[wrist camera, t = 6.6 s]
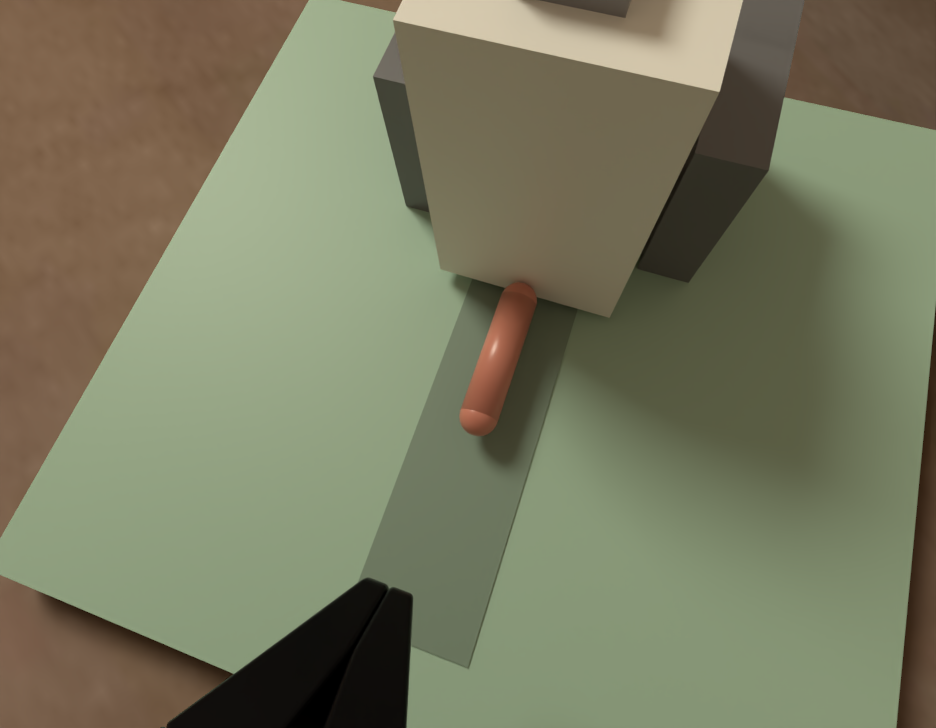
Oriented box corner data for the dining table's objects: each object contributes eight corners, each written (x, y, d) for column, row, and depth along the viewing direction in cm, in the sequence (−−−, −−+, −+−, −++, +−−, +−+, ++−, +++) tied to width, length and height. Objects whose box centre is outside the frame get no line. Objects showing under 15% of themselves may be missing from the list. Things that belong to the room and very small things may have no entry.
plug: (566, 469, 14) (667, 349, 6) (384, 409, 15) (245, 227, 7) (650, 173, 17) (802, -196, 9) (493, 134, 18) (493, -240, 9)
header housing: (688, 282, 16) (768, 170, 11) (405, 205, 17) (373, 76, 13) (723, 139, 18) (806, -12, 13) (461, 78, 19) (450, -80, 14)
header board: (833, 901, 13) (902, 974, 10) (29, 566, 16) (-45, 568, 14) (916, 165, 19) (972, 114, 17) (324, 30, 22) (305, -27, 20)
